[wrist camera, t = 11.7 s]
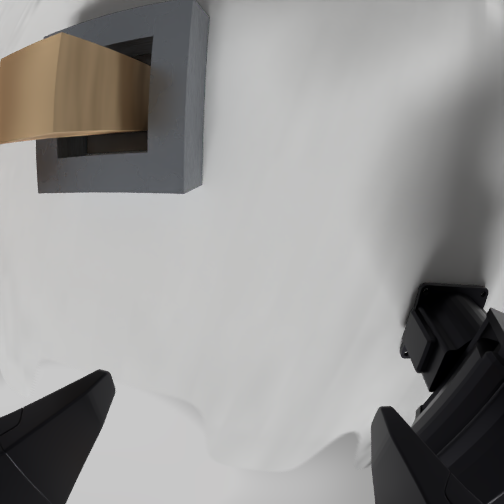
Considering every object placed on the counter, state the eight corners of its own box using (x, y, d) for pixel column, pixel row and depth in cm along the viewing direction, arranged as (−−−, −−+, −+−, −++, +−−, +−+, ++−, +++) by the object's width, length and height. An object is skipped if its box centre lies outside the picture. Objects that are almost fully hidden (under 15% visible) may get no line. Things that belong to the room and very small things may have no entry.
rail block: (209, 17, 16) (193, -3, 13) (202, 184, 20) (183, 193, 17) (72, 44, 17) (43, 37, 14) (67, 184, 21) (38, 193, 18)
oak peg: (157, 68, 18) (61, 32, 8) (154, 130, 19) (53, 132, 10) (103, 77, 18) (0, 59, 9) (101, 134, 20) (-5, 144, 10)
